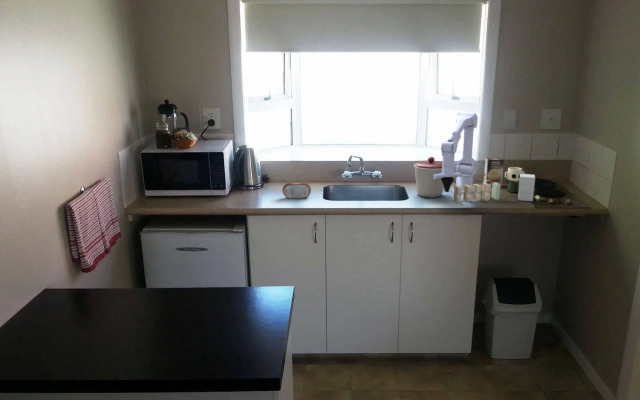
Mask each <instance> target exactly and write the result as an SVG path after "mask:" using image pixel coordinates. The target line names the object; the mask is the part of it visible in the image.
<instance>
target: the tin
mask: <svg viewBox="0 0 640 400" xmlns="http://www.w3.org/2000/svg"><path fill="white" fill-rule="evenodd" d="M311 191H312V189H311V186H310V185H309V184H308V183H307V182H286V184H284V186H283V187H282V193H283V196H284V197H285V198H287V199H289V198H295V199H306V198H308V197H309V196H310V195H311Z"/></svg>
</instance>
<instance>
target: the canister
mask: <svg viewBox="0 0 640 400" xmlns="http://www.w3.org/2000/svg"><path fill="white" fill-rule="evenodd" d="M413 167H414V175H415V186H416V192H417V194H418V195H419V196H420V197H422V198H423V197H424V198H438V197H440V196H441V195H442V194H443V193H444V186H443V183H442V180H441V178H437V179H434V178H433V177H434V174H440V173H442V161H439V160H435V157H434V156H428V157H427V160H421V161H417V162H415V163H414V164H413Z"/></svg>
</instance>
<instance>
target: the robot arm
mask: <svg viewBox="0 0 640 400" xmlns="http://www.w3.org/2000/svg"><path fill="white" fill-rule="evenodd" d="M455 123H456V124H455V127H454V129H453V130H452V131H451V132H450V133H449V134H448V136H447V138H446V141H445V140H444V141H443V142H442V143H441V147H440V152H441V156H442V160H441V162H442V173H440V174H434V177H433V178H434V179H437V178H441V180H442V183H443V186H444V188H443V192H445V193H449V192H450V188H451V187H452V185H453V182H456V183H455V186H457V185H458V186H460V187H462V194H463V191H464V185H469V186H471V187H472V188H473V183H474V176H476V175H477V172H478V163H477V160H475V159H474V158H473V144H474V143H473V142H474V131H475V130H474V129H476V128H477V127H478V115H477V113H471V112H469V113H468V112H458V113H457V114H456V117H455ZM462 132H463V147H462V149H463V150H462V157H461V158H459V159H458V161H457V165H456V172H454V169H455V154H456V152H457V150H458V144H459V142H460V140H461V138H462V135H461V133H462ZM455 179H456V180H455ZM454 180H455V181H454ZM471 193H473V189H472V191H471Z"/></svg>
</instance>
